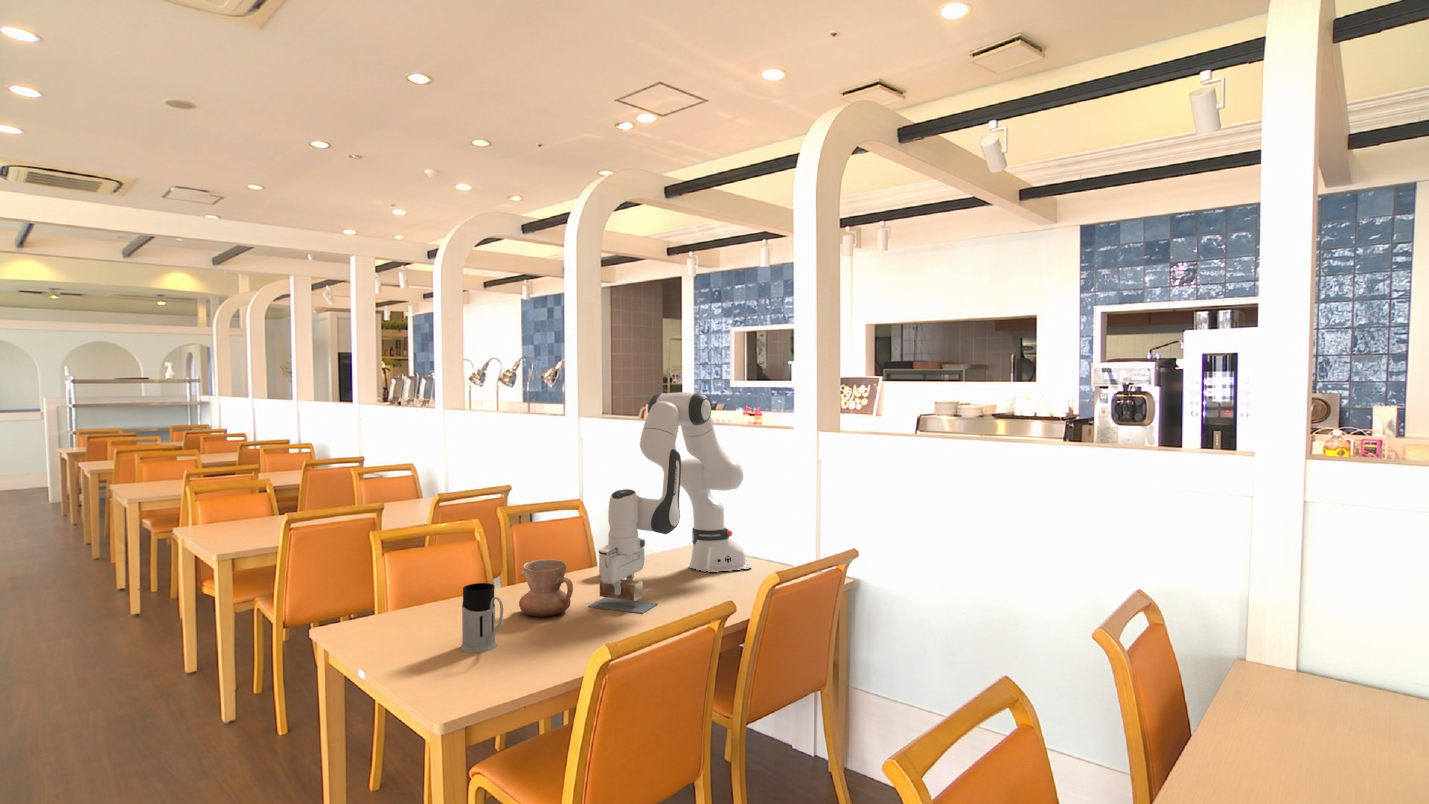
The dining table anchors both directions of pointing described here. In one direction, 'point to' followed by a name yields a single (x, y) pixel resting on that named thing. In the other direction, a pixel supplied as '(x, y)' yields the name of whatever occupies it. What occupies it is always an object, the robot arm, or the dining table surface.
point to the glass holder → (479, 618)
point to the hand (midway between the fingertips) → (623, 591)
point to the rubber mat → (623, 605)
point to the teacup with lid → (602, 558)
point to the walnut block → (623, 590)
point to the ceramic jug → (545, 588)
